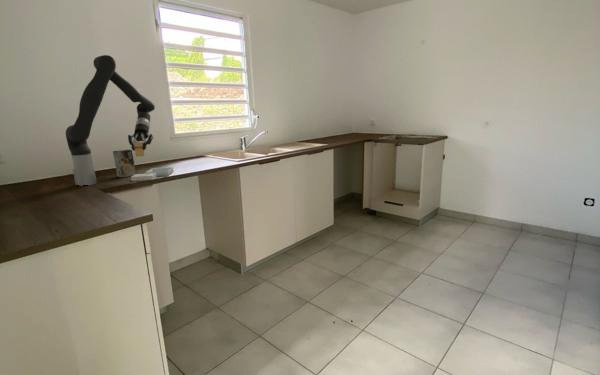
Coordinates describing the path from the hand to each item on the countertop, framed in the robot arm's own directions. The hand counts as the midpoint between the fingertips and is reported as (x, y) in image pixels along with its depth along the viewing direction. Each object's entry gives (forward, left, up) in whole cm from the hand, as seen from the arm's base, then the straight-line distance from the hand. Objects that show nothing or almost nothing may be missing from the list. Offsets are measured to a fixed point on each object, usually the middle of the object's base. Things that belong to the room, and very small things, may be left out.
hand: (138, 149), depth 187 cm
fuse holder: (0, +2, -18) cm, 18 cm away
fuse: (0, +2, -4) cm, 5 cm away
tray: (+6, +14, -18) cm, 23 cm away
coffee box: (-15, +16, -18) cm, 28 cm away
